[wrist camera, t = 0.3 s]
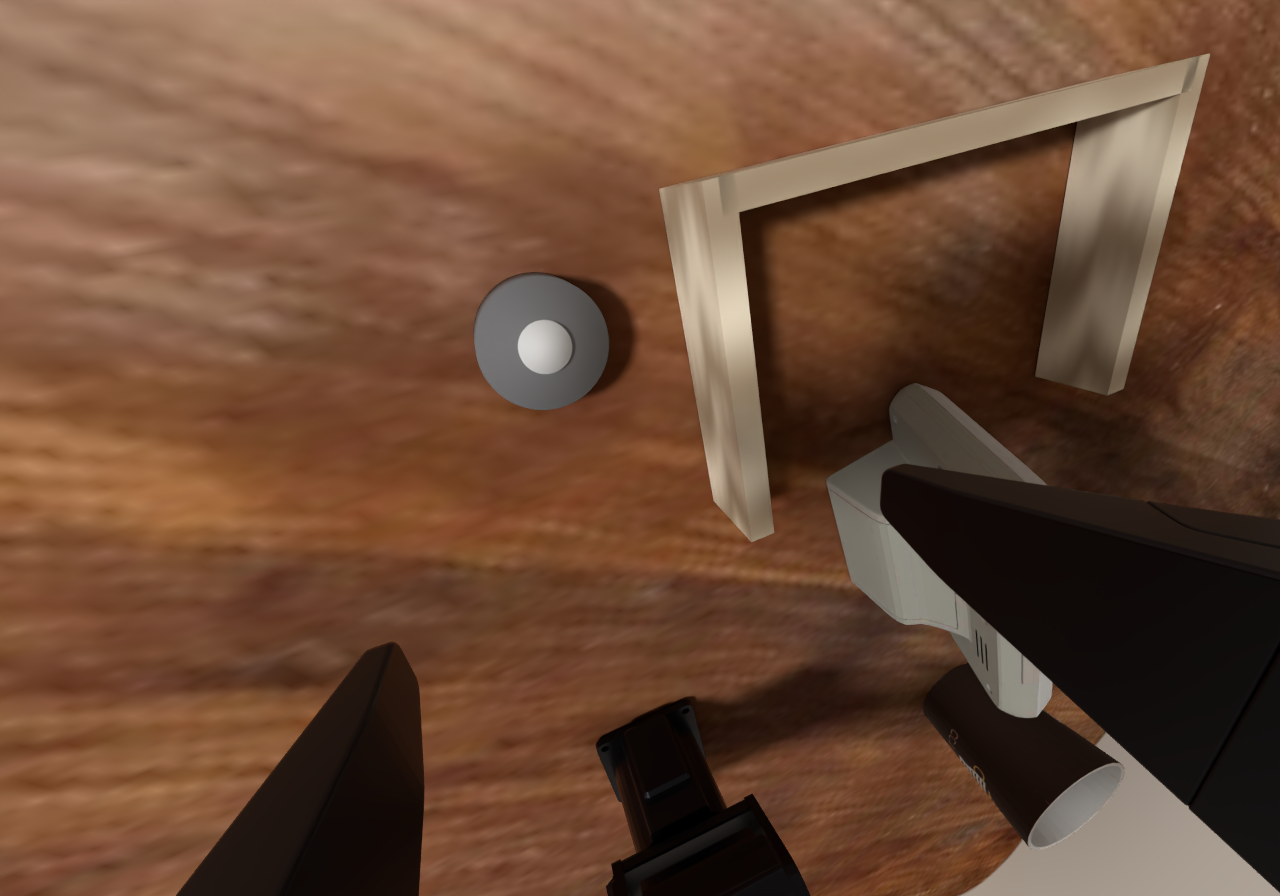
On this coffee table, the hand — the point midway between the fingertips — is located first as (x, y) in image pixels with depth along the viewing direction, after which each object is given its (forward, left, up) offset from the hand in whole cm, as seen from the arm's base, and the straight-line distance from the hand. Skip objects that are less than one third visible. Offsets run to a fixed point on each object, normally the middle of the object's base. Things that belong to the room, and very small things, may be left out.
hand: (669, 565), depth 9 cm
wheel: (+1, 0, -14) cm, 14 cm away
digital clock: (-15, -18, -15) cm, 28 cm away
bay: (-3, -18, -14) cm, 23 cm away
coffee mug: (-40, -25, -15) cm, 49 cm away
